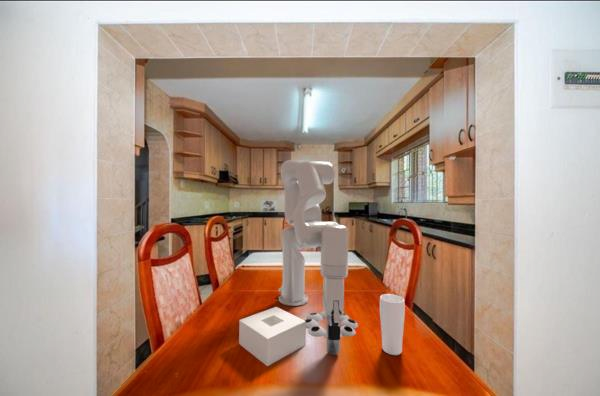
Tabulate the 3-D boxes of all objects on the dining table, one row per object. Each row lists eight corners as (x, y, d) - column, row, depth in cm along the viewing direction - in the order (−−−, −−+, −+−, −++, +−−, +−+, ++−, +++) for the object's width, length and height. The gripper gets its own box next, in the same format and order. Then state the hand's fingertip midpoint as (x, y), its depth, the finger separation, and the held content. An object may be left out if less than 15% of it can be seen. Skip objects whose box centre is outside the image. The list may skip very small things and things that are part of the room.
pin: (323, 350, 69) (324, 307, 69) (331, 345, 72) (332, 303, 72) (334, 356, 67) (334, 311, 67) (342, 350, 69) (342, 307, 69)
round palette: (325, 308, 100) (325, 303, 100) (369, 326, 86) (369, 320, 86) (289, 325, 87) (289, 319, 87) (334, 349, 73) (335, 342, 73)
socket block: (239, 343, 74) (239, 320, 74) (276, 327, 84) (276, 306, 84) (267, 366, 64) (267, 338, 64) (305, 344, 74) (305, 321, 74)
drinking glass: (375, 344, 74) (376, 293, 75) (397, 343, 75) (397, 293, 75) (385, 358, 68) (385, 303, 68) (409, 357, 68) (409, 302, 68)
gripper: (318, 261, 78) (318, 320, 78) (322, 278, 61) (321, 353, 61) (342, 261, 78) (342, 320, 78) (353, 279, 61) (352, 354, 61)
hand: (333, 334), depth 69 cm, fingers closed on pin, 3 cm apart
